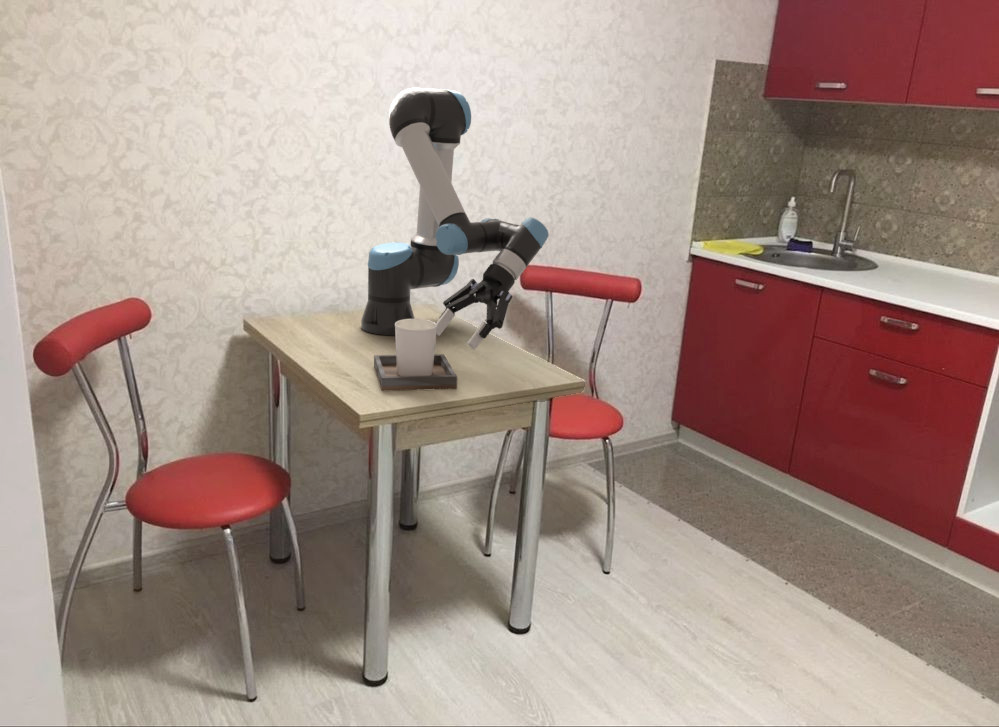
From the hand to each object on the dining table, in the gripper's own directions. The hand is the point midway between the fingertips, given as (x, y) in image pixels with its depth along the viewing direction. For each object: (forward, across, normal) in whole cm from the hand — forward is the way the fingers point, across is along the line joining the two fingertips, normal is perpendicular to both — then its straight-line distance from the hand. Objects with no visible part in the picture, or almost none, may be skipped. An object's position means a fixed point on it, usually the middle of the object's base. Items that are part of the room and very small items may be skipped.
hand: (452, 339), depth 205 cm
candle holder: (+13, 0, +3) cm, 13 cm away
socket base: (+13, 0, +2) cm, 14 cm away
